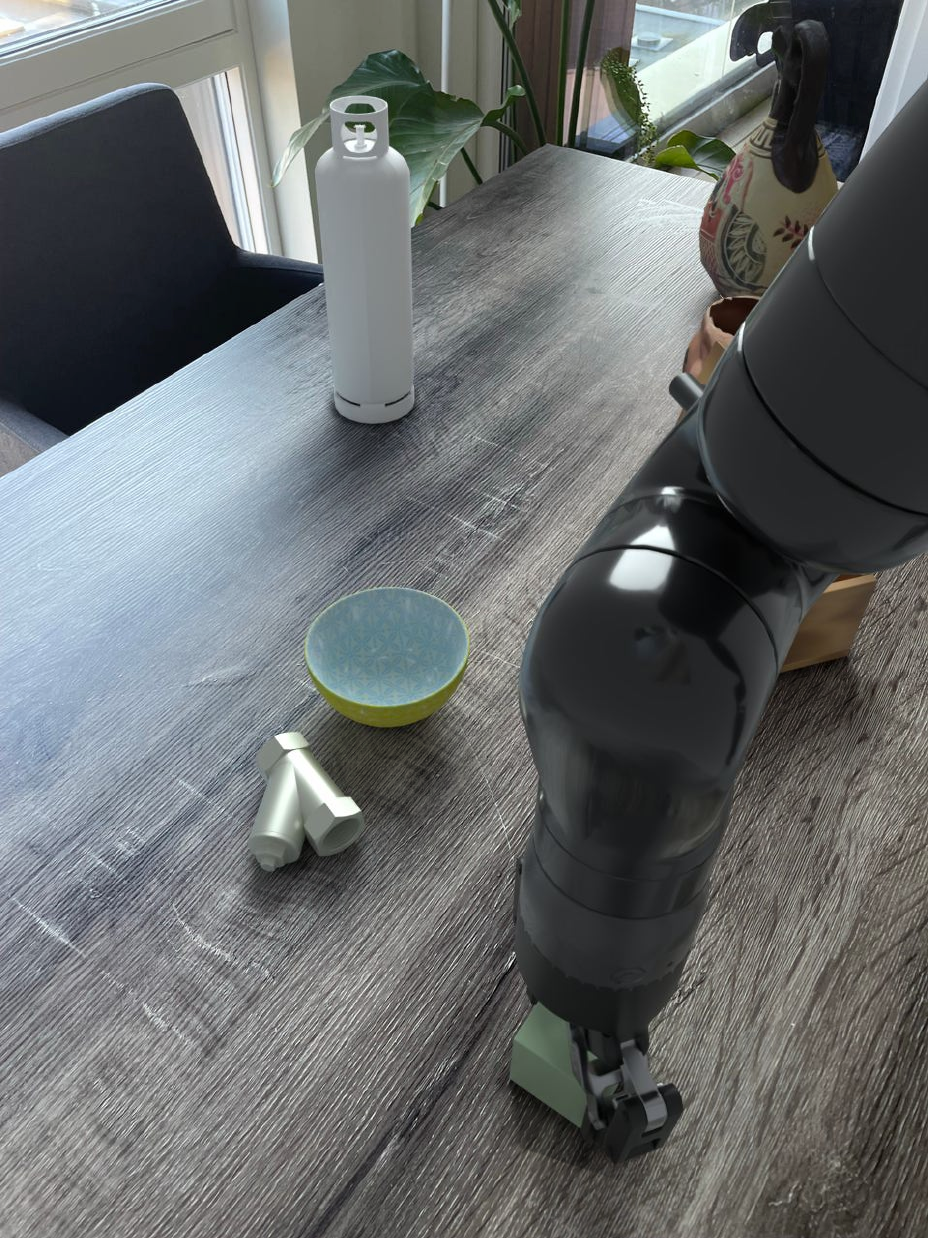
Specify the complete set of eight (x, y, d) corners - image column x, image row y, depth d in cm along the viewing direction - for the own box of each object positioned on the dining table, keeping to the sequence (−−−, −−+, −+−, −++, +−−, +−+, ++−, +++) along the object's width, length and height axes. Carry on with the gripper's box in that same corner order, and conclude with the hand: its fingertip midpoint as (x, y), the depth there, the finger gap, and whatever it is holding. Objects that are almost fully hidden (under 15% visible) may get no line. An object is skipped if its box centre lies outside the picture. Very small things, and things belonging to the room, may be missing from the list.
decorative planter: (685, 384, 105) (710, 255, 95) (804, 404, 102) (842, 274, 92) (652, 493, 91) (677, 355, 81) (788, 520, 88) (831, 381, 79)
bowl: (294, 754, 69) (284, 695, 65) (332, 638, 77) (325, 578, 73) (456, 774, 68) (457, 715, 64) (478, 653, 76) (479, 594, 72)
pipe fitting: (275, 896, 62) (367, 837, 64) (263, 864, 59) (360, 803, 61) (217, 808, 66) (305, 756, 69) (203, 774, 63) (295, 722, 66)
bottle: (332, 423, 98) (305, 121, 79) (336, 380, 104) (312, 88, 85) (414, 423, 99) (407, 121, 79) (414, 380, 104) (408, 89, 85)
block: (635, 1055, 55) (648, 1015, 51) (589, 1135, 52) (600, 1098, 48) (556, 1004, 57) (563, 962, 53) (508, 1078, 54) (513, 1039, 50)
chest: (768, 561, 84) (791, 486, 79) (847, 656, 77) (878, 580, 71) (622, 594, 81) (635, 518, 76) (688, 696, 73) (708, 620, 68)
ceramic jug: (680, 269, 124) (728, -9, 103) (805, 273, 124) (878, -5, 103) (697, 337, 112) (756, 36, 91) (836, 341, 112) (926, 41, 91)
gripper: (777, 1033, 38) (698, 1176, 49) (618, 748, 48) (583, 923, 59) (596, 1097, 36) (558, 1229, 48) (469, 787, 46) (463, 960, 57)
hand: (572, 1059), depth 53 cm, fingers closed on block, 7 cm apart
